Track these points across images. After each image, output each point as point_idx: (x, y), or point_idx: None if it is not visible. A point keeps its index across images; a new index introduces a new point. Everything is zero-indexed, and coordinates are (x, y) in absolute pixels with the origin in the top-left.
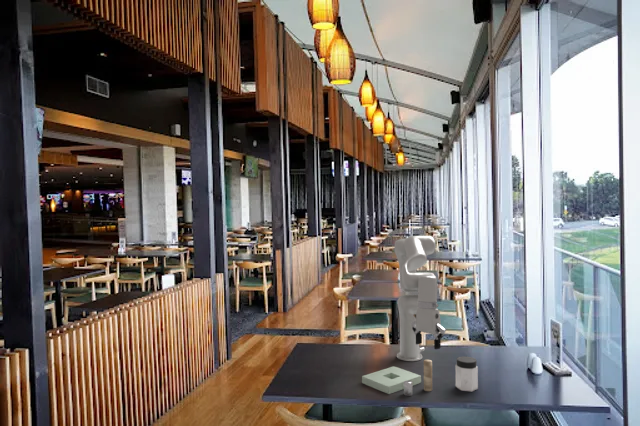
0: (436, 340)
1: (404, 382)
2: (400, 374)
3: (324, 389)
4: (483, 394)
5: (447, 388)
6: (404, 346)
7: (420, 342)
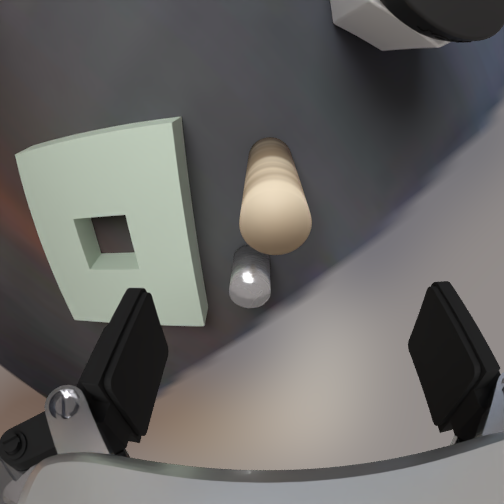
0: (457, 407)
1: (242, 305)
2: (106, 200)
3: None
4: None
5: (322, 71)
6: None
7: (153, 319)
